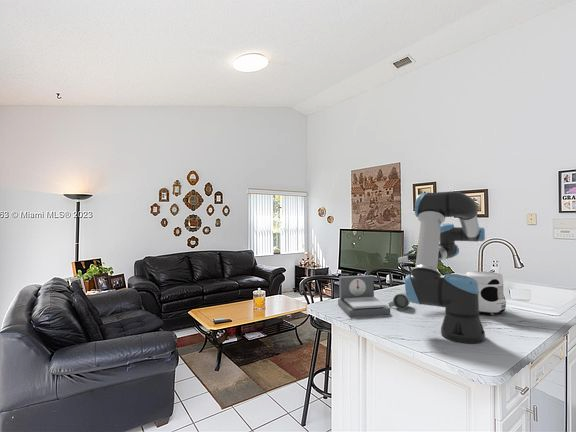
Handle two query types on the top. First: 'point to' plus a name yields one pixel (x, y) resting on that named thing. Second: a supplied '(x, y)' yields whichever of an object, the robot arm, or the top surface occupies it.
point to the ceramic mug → (400, 301)
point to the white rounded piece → (489, 291)
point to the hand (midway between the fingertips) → (408, 262)
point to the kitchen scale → (360, 297)
